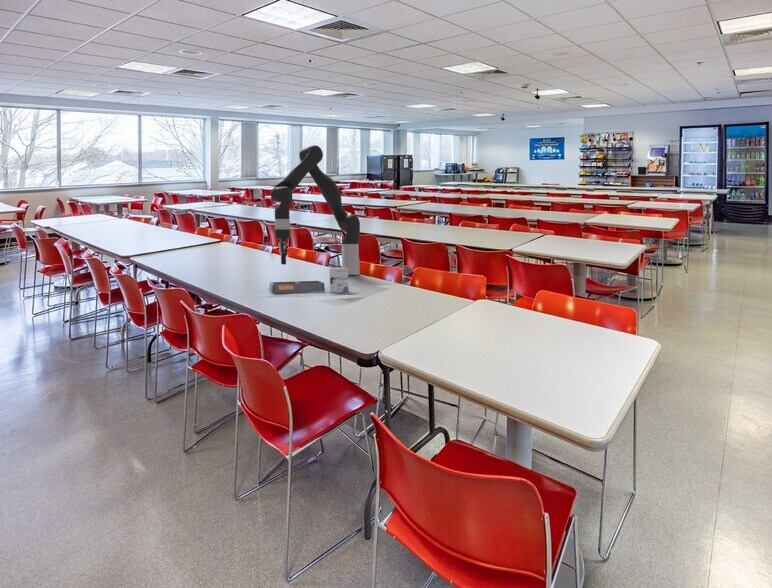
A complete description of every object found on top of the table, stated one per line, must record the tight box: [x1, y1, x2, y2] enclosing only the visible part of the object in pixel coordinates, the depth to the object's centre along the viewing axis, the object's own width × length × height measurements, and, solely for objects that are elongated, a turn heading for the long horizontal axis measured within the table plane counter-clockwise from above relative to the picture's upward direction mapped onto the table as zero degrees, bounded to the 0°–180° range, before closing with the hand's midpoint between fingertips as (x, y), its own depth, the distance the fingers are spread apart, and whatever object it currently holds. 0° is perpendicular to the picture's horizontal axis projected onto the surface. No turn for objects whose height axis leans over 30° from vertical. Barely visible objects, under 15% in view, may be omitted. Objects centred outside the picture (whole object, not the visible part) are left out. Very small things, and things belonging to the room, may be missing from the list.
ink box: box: [329, 267, 349, 294], centre depth 234 cm, size 8×5×12 cm, turn 140°
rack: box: [269, 280, 325, 295], centre depth 238 cm, size 25×14×4 cm, turn 109°
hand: (283, 264), depth 235 cm, fingers closed
